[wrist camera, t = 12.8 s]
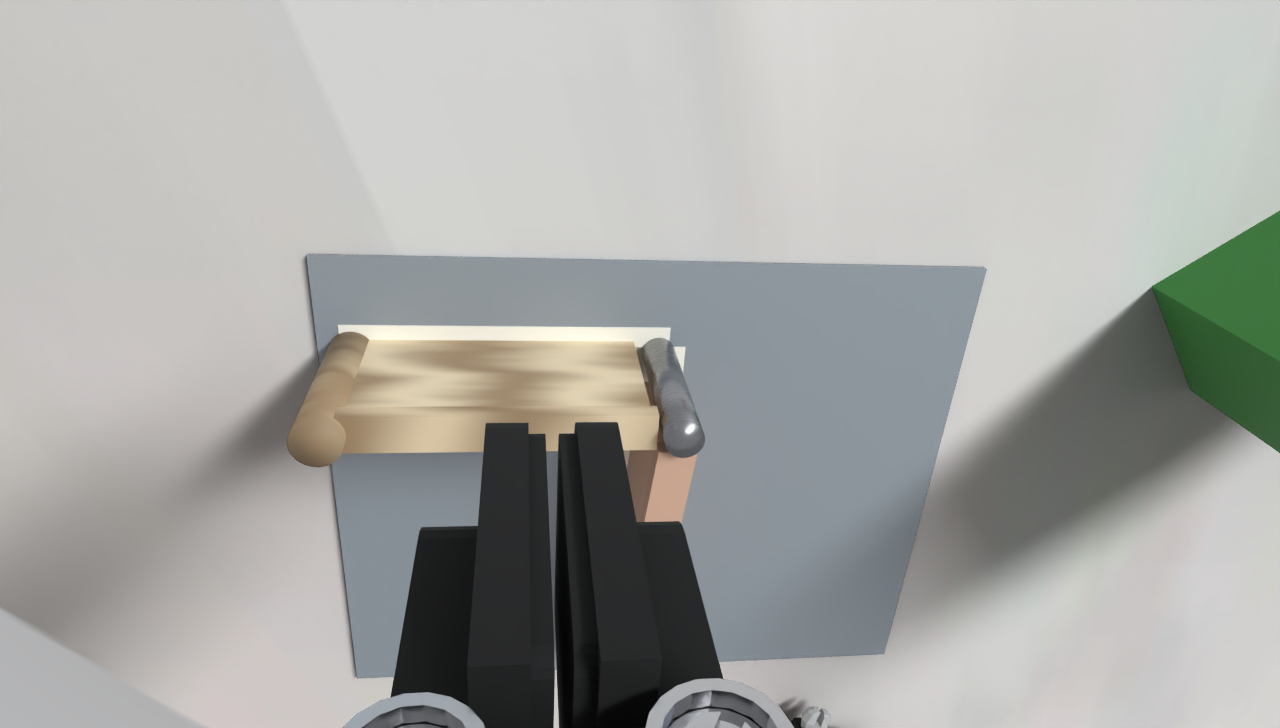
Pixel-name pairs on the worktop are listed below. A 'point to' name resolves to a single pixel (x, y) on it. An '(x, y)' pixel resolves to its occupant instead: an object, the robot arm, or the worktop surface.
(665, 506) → the fence gate
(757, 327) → the card
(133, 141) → the worktop surface
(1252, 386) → the hardback book
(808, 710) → the robot toy
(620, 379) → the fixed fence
